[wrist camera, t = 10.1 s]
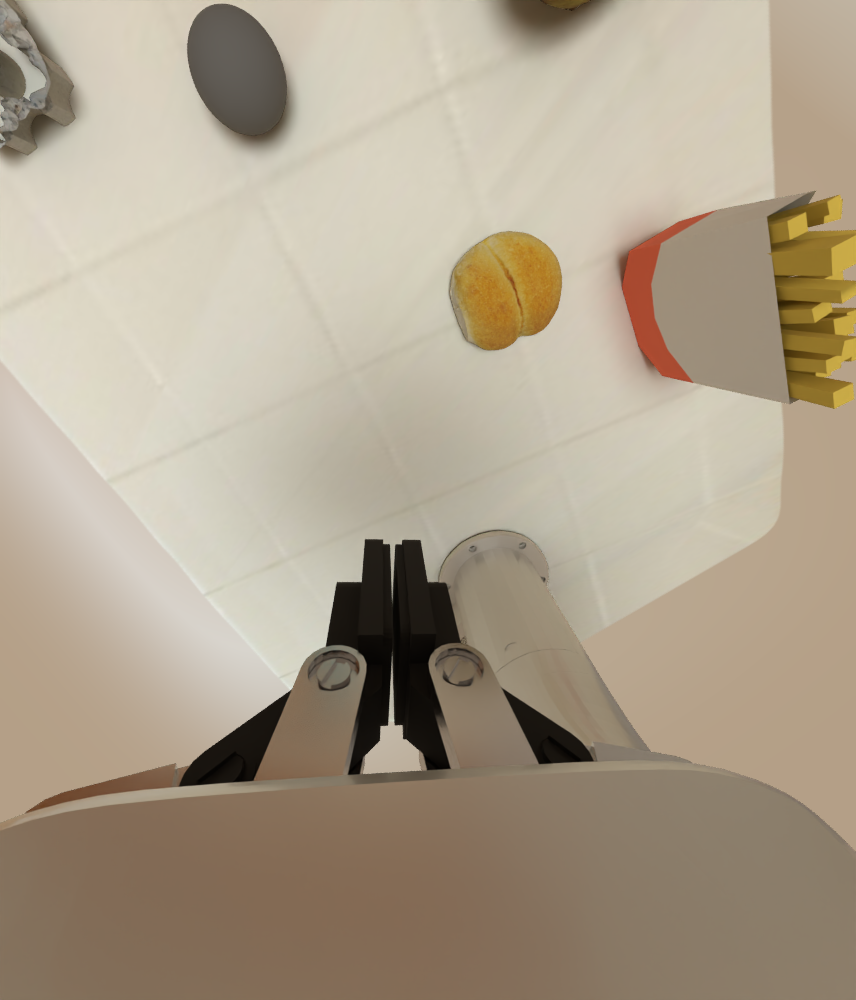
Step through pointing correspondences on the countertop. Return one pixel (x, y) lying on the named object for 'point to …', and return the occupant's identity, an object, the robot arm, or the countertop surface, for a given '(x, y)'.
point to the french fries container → (749, 300)
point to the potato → (565, 3)
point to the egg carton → (9, 83)
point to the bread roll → (505, 289)
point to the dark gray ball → (236, 69)
